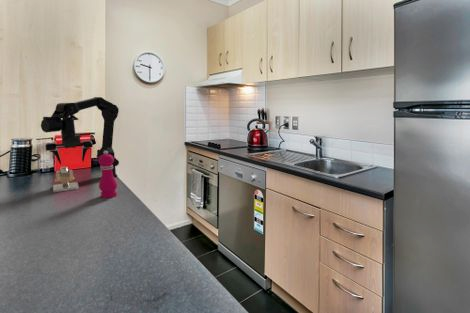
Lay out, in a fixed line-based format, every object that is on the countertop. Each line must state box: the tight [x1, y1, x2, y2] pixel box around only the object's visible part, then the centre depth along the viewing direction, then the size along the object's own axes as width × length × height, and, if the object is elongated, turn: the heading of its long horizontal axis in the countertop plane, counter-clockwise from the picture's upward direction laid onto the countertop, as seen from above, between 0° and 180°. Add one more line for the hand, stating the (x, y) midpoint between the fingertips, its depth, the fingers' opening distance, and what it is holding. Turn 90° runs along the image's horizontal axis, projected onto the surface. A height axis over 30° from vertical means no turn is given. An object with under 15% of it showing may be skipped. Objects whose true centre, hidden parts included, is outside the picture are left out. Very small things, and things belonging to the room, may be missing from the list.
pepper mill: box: [97, 150, 118, 199], centre depth 119 cm, size 7×7×20 cm
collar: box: [55, 169, 75, 181], centre depth 131 cm, size 7×7×3 cm
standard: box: [52, 166, 80, 193], centre depth 131 cm, size 10×10×10 cm
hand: (71, 162), depth 132 cm, fingers open, 9 cm apart
